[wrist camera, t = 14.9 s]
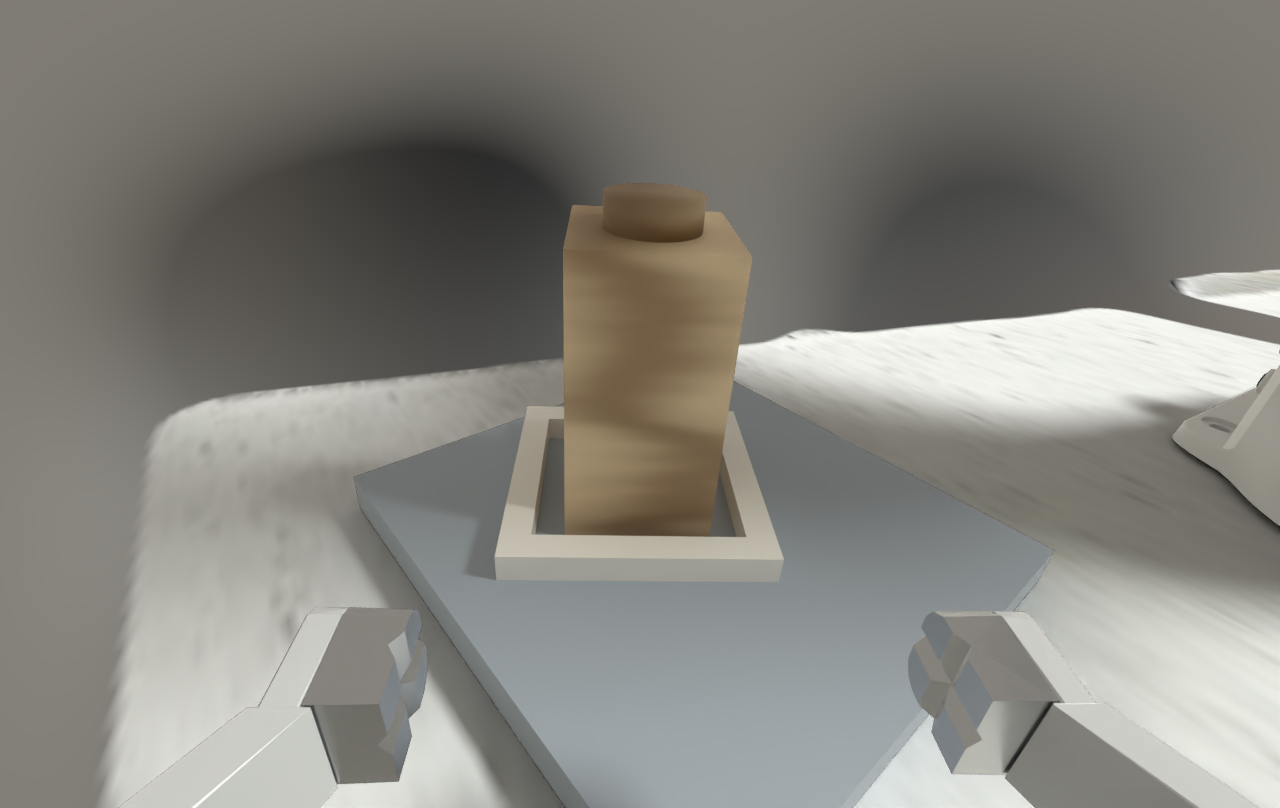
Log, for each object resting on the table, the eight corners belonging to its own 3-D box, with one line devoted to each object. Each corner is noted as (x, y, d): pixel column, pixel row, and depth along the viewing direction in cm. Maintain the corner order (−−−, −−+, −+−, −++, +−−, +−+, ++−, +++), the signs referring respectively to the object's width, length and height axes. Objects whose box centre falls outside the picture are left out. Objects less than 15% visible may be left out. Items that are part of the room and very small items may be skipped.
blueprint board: (688, 382, 34) (691, 358, 34) (1038, 580, 23) (1054, 550, 22) (360, 507, 24) (353, 477, 23) (696, 999, 12) (704, 969, 11)
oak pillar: (691, 455, 26) (725, 181, 20) (708, 538, 21) (758, 219, 16) (571, 453, 25) (572, 173, 20) (564, 537, 21) (562, 209, 15)
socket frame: (730, 430, 28) (733, 411, 27) (778, 582, 20) (783, 559, 19) (528, 425, 27) (527, 405, 26) (496, 580, 19) (494, 556, 19)
